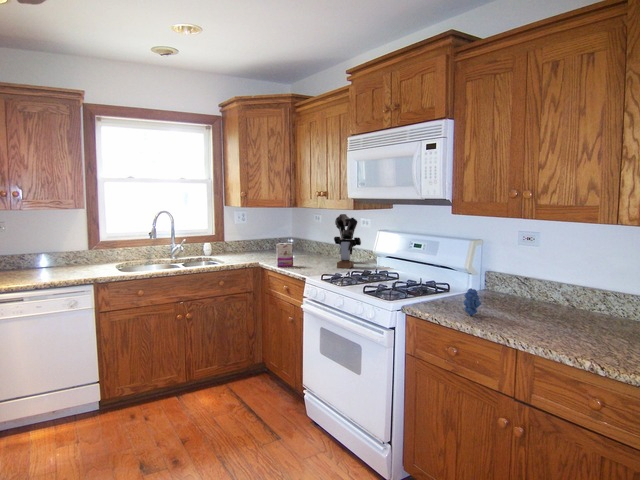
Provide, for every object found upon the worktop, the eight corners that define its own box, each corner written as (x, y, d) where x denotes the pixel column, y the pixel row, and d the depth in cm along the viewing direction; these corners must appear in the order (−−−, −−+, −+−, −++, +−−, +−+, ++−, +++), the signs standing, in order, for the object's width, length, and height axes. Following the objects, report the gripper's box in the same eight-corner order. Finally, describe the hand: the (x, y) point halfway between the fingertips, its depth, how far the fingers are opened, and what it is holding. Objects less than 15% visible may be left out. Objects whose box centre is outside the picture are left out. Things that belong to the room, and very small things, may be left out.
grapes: (474, 320, 183) (475, 291, 182) (458, 316, 188) (460, 289, 187) (486, 315, 191) (488, 287, 190) (471, 312, 196) (473, 285, 195)
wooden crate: (340, 266, 318) (340, 260, 318) (353, 266, 315) (353, 261, 315) (336, 268, 310) (336, 262, 309) (349, 268, 306) (349, 263, 306)
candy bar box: (291, 265, 318) (291, 242, 317) (293, 266, 314) (293, 243, 312) (276, 266, 315) (276, 243, 314) (277, 267, 311) (277, 243, 309)
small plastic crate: (342, 258, 315) (343, 241, 314) (349, 258, 313) (350, 242, 312) (340, 259, 310) (341, 242, 309) (347, 260, 309) (348, 242, 307)
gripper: (334, 225, 316) (329, 242, 307) (360, 226, 310) (355, 243, 301) (338, 235, 325) (333, 252, 315) (362, 236, 318) (358, 253, 309)
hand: (344, 250), depth 310 cm, fingers closed on small plastic crate, 5 cm apart
